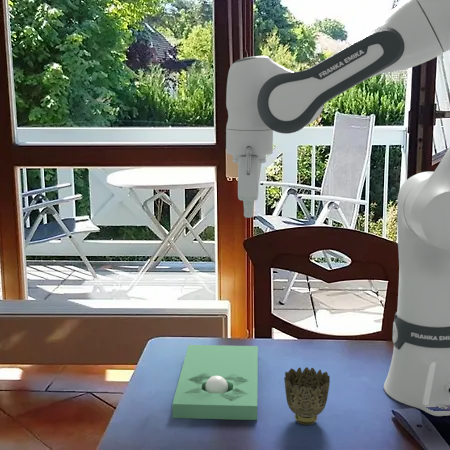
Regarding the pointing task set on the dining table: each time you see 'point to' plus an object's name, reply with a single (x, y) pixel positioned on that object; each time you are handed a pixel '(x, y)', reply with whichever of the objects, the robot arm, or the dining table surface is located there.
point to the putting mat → (225, 367)
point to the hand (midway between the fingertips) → (248, 216)
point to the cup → (306, 393)
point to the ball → (216, 385)
